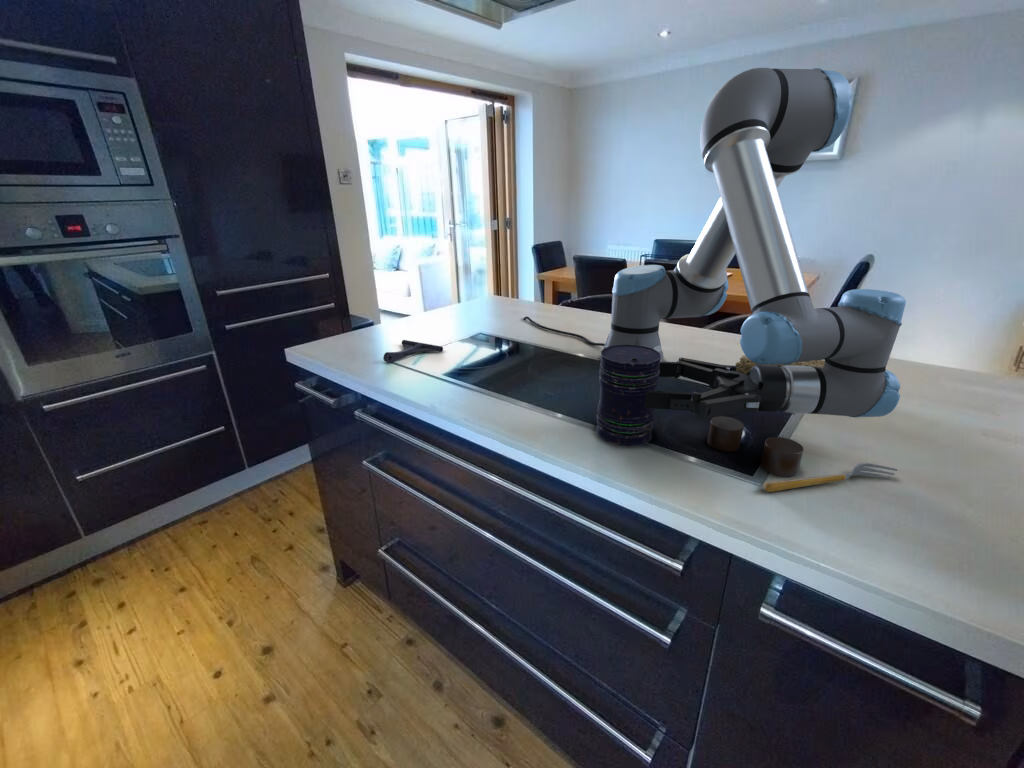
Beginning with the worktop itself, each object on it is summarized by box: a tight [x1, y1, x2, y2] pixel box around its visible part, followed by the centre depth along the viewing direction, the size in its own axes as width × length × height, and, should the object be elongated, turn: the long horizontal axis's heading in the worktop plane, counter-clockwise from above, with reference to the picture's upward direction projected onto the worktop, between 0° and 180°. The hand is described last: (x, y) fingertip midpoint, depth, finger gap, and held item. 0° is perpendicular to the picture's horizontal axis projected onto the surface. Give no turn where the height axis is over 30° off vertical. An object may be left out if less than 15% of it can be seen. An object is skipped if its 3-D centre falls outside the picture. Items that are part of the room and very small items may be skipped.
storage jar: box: [596, 345, 661, 448], centre depth 76 cm, size 10×10×15 cm
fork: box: [763, 462, 899, 493], centre depth 63 cm, size 2×2×20 cm
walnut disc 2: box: [760, 436, 805, 478], centre depth 67 cm, size 5×5×4 cm
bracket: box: [383, 339, 444, 364], centre depth 121 cm, size 14×15×3 cm
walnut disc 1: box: [706, 416, 745, 453], centre depth 74 cm, size 5×5×4 cm
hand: (642, 382), depth 74 cm, fingers open, 13 cm apart
